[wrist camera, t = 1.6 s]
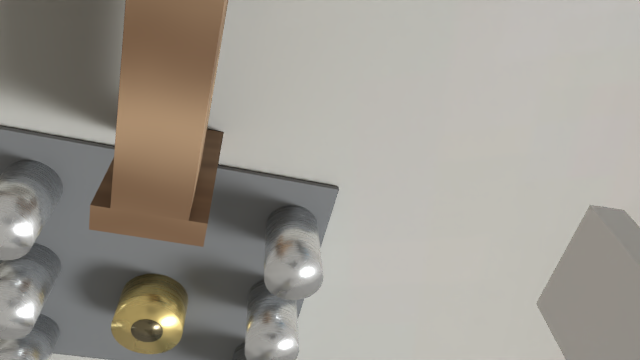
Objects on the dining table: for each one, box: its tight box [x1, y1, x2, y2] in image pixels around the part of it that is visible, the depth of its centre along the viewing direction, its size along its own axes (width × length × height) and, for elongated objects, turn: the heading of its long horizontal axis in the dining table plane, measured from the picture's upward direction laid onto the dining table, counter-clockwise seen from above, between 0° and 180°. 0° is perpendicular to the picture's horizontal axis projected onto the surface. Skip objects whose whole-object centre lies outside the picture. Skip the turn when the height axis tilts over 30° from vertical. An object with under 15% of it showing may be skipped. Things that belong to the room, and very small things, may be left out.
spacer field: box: [0, 160, 323, 360], centre depth 32 cm, size 14×17×4 cm
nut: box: [111, 274, 188, 354], centre depth 33 cm, size 4×4×3 cm
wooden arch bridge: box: [89, 0, 228, 247], centre depth 22 cm, size 16×4×8 cm, turn 166°
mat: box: [0, 126, 339, 360], centre depth 34 cm, size 16×18×1 cm
